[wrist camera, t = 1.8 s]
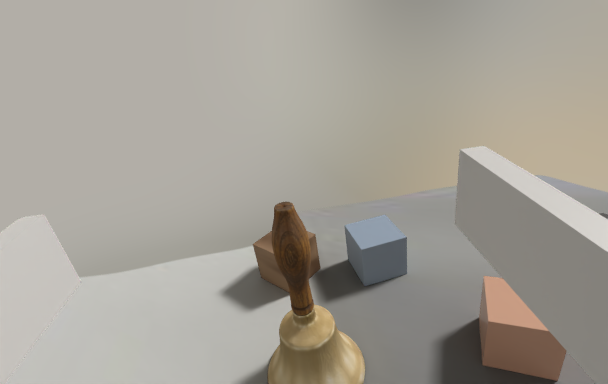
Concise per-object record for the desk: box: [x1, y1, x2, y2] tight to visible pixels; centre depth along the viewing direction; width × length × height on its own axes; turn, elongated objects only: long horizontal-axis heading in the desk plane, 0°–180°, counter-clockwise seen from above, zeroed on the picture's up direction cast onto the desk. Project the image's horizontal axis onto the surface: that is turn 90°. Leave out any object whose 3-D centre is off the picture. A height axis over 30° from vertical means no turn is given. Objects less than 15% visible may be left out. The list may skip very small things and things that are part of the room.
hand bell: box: [268, 202, 365, 384], centre depth 26 cm, size 8×8×16 cm
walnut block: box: [253, 231, 320, 293], centre depth 40 cm, size 5×5×5 cm
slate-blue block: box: [345, 215, 407, 286], centre depth 39 cm, size 5×5×5 cm
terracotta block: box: [479, 276, 566, 381], centre depth 28 cm, size 5×5×5 cm
